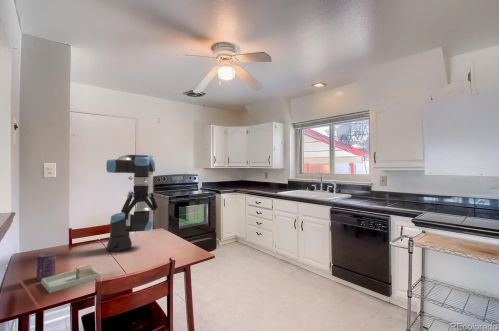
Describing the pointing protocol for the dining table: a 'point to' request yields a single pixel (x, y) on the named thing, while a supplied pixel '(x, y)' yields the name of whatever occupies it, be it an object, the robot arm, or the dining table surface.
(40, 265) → the beverage can
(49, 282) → the pale green tray
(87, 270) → the oak block
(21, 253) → the dining table surface
